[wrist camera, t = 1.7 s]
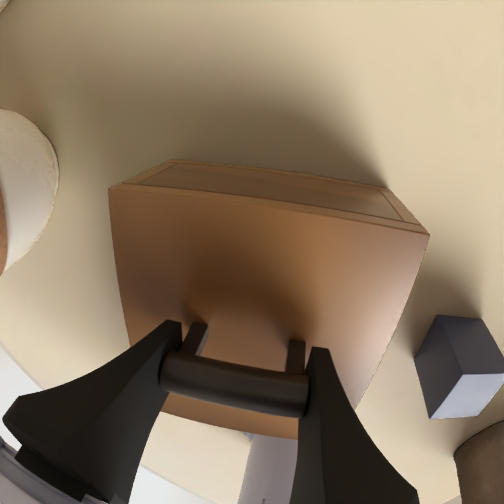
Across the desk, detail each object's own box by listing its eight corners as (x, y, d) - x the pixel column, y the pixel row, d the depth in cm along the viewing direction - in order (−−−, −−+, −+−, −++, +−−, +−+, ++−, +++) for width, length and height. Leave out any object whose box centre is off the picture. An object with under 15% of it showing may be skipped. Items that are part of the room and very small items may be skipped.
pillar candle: (440, 464, 26) (449, 562, 13) (480, 423, 22) (505, 540, 8) (492, 454, 25) (508, 539, 11) (533, 412, 20) (562, 508, 7)
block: (457, 362, 19) (477, 416, 14) (413, 360, 19) (428, 419, 14) (482, 319, 17) (512, 372, 12) (436, 314, 17) (462, 374, 12)
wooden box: (337, 365, 20) (338, 426, 16) (177, 337, 22) (149, 389, 17) (390, 189, 15) (423, 225, 10) (171, 159, 16) (119, 182, 11)
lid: (334, 433, 16) (332, 492, 12) (150, 397, 17) (125, 449, 14) (423, 226, 10) (472, 288, 6) (118, 183, 11) (46, 221, 7)
